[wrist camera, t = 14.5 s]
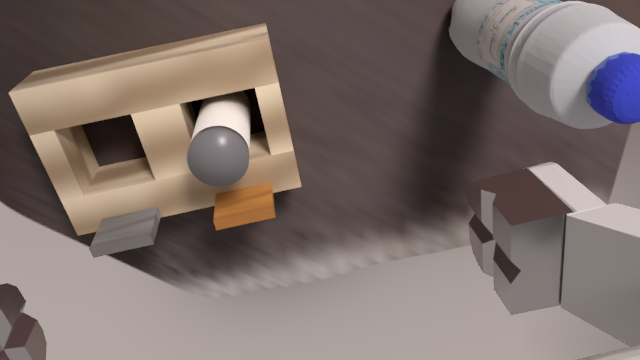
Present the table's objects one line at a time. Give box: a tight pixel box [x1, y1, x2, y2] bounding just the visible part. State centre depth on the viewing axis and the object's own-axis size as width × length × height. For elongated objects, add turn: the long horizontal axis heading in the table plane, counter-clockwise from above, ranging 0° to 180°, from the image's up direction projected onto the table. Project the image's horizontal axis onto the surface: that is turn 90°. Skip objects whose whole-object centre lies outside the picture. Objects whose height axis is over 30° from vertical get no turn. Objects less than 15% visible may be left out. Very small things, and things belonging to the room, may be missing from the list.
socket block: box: [8, 23, 302, 257], centre depth 40 cm, size 12×18×9 cm, turn 100°
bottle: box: [449, 0, 640, 129], centre depth 34 cm, size 7×7×20 cm
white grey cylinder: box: [187, 91, 251, 187], centre depth 39 cm, size 4×4×10 cm
